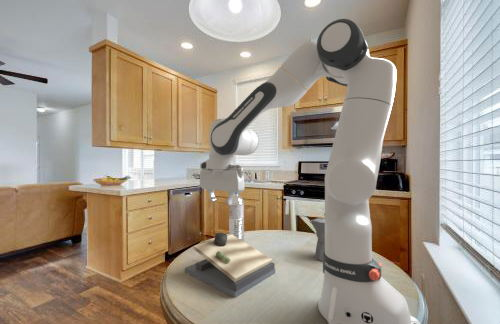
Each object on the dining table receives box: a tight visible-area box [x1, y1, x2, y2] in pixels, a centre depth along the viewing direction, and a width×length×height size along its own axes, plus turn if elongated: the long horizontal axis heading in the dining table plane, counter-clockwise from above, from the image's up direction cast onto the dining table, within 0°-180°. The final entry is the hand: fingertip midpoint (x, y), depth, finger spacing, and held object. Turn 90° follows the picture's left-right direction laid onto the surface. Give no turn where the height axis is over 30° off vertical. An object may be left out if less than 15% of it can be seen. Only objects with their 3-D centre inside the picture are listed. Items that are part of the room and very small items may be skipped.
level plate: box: [193, 232, 273, 282], centre depth 80 cm, size 20×18×4 cm
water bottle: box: [228, 192, 245, 242], centre depth 107 cm, size 7×7×25 cm
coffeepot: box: [309, 212, 325, 263], centre depth 94 cm, size 15×9×18 cm, turn 86°
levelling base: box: [184, 258, 276, 298], centre depth 81 cm, size 24×20×4 cm
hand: (220, 202), depth 84 cm, fingers open, 7 cm apart
